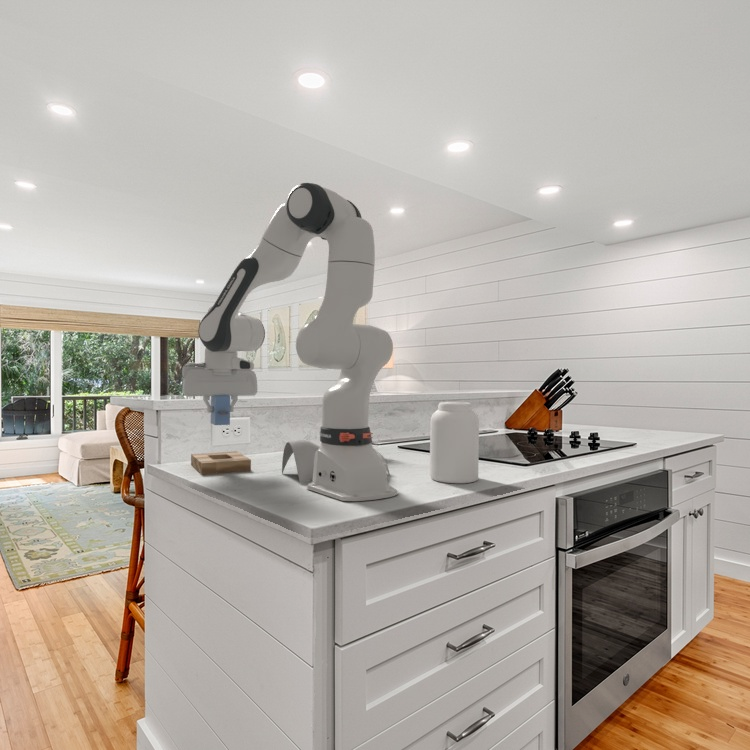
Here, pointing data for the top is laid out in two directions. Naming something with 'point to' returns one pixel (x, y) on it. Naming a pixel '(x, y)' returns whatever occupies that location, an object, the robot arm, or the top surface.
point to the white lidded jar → (454, 443)
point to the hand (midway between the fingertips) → (220, 412)
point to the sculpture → (306, 458)
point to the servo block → (220, 410)
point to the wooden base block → (220, 462)
